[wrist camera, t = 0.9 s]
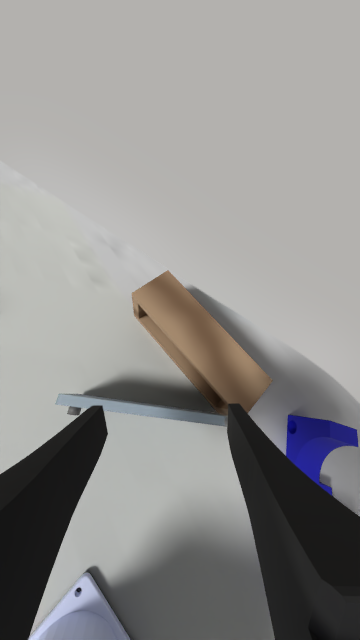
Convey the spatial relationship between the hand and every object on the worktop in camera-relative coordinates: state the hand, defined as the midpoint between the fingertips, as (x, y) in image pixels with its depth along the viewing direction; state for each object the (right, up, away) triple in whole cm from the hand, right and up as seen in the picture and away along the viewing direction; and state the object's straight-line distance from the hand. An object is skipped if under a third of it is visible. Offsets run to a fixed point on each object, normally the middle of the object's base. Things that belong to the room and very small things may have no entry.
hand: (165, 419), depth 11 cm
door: (-3, -4, +10) cm, 11 cm away
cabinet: (+2, +2, +14) cm, 14 cm away
